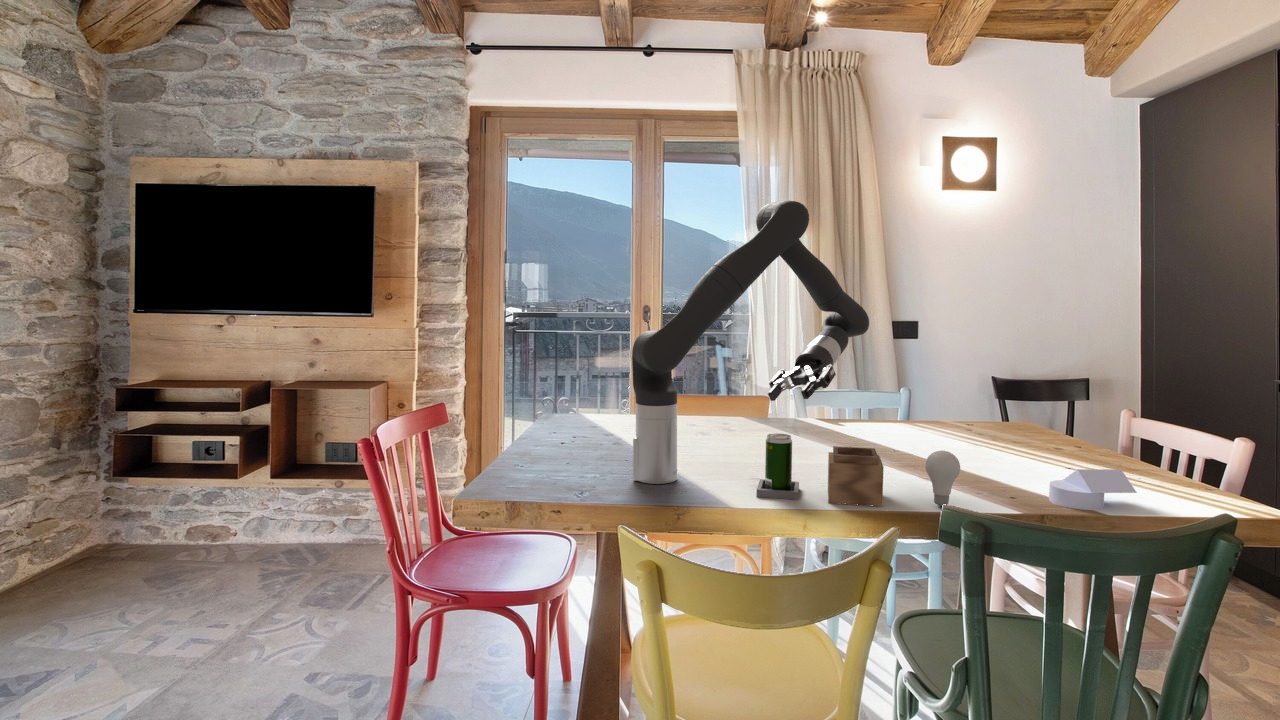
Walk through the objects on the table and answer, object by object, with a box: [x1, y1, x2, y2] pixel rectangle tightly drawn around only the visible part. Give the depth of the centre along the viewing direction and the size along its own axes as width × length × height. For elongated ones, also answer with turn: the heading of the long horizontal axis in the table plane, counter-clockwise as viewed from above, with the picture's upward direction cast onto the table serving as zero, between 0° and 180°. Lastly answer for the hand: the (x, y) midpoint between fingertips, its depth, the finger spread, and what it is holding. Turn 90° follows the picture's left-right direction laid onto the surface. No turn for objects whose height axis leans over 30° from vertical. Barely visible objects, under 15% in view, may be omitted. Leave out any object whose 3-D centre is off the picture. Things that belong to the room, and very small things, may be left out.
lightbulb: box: [924, 450, 961, 508], centre depth 128 cm, size 6×6×11 cm
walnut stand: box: [827, 445, 884, 507], centre depth 134 cm, size 10×10×10 cm
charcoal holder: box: [756, 478, 800, 501], centre depth 138 cm, size 8×8×2 cm
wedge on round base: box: [1048, 468, 1138, 511], centre depth 131 cm, size 9×7×13 cm
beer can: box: [764, 432, 793, 491], centre depth 138 cm, size 5×5×12 cm
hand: (787, 396), depth 144 cm, fingers open, 8 cm apart
